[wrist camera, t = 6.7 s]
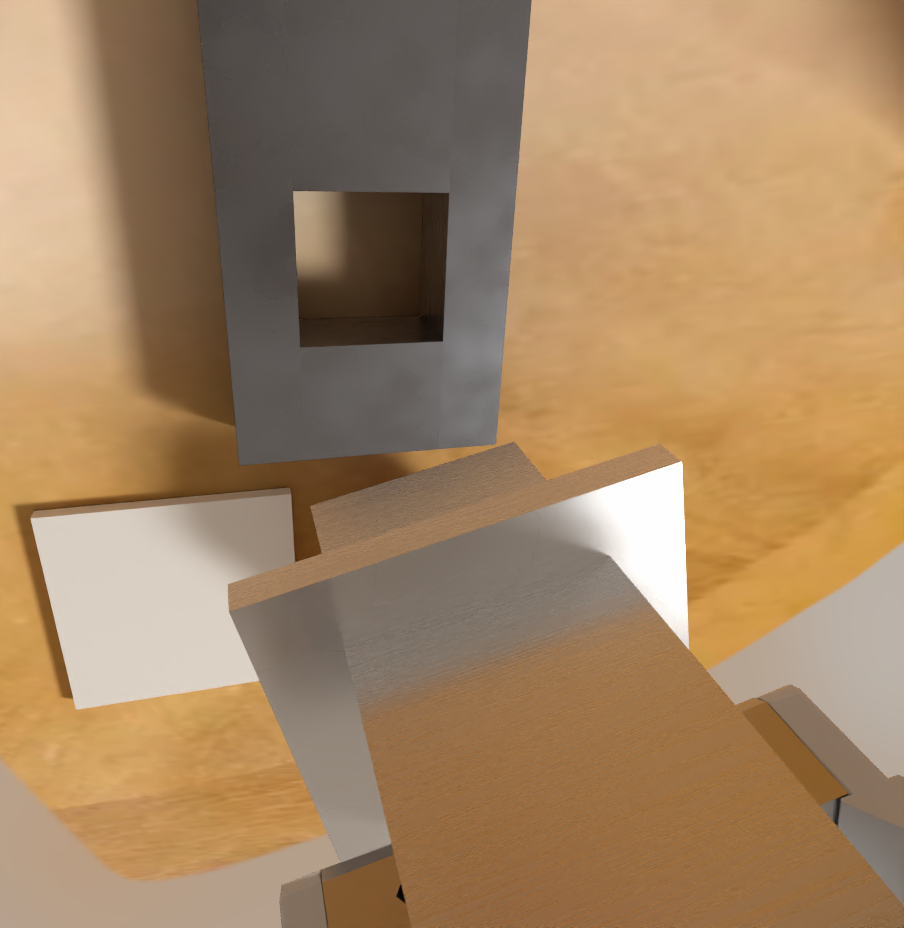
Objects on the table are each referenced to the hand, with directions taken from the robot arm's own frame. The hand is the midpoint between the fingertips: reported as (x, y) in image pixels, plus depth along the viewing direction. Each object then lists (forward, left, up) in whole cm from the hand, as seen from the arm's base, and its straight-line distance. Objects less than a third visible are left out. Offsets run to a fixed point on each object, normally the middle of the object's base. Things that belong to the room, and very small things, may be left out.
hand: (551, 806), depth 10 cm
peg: (0, 0, -6) cm, 6 cm away
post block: (+1, +4, -23) cm, 23 cm away
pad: (-7, -12, -23) cm, 27 cm away
